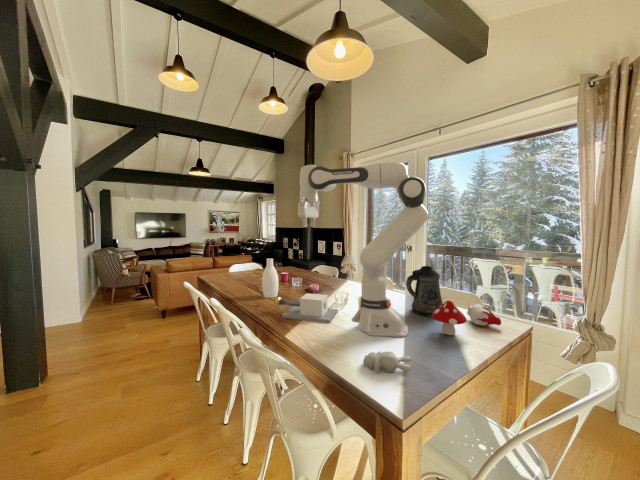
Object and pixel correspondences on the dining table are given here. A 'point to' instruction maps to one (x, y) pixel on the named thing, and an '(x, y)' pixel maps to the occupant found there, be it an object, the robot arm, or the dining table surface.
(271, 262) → the bottle
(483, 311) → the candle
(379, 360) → the bunny figurine
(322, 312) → the bearing block
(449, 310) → the decorative mushroom
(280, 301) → the shaft
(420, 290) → the beer stein
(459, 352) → the dining table surface
